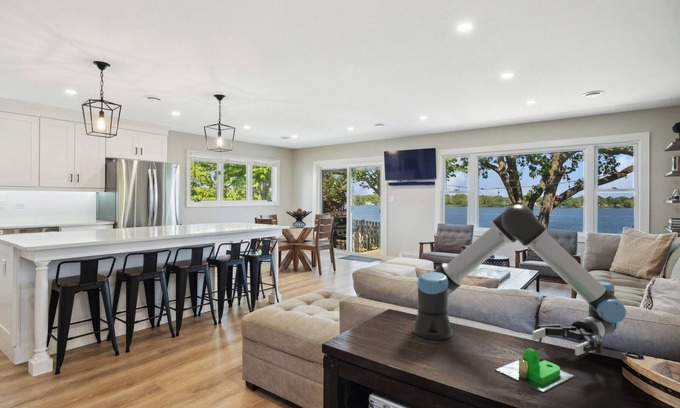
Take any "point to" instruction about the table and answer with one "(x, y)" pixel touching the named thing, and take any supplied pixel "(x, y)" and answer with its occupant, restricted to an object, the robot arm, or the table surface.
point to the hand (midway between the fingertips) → (553, 343)
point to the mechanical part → (540, 368)
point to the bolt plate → (520, 373)
